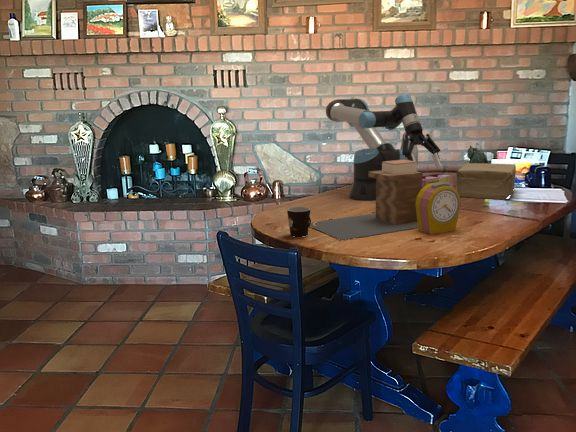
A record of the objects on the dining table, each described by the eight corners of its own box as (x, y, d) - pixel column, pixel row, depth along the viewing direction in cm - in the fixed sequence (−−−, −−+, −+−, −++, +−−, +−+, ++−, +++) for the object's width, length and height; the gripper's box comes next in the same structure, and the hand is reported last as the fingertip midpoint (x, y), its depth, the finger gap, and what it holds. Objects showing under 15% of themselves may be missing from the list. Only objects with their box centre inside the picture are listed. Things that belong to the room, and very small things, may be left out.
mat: (303, 224, 227) (303, 223, 227) (392, 211, 246) (392, 210, 246) (341, 240, 203) (341, 239, 203) (436, 225, 222) (436, 224, 222)
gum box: (442, 201, 266) (443, 172, 263) (455, 204, 259) (457, 174, 256) (405, 208, 253) (406, 178, 250) (418, 211, 247) (419, 180, 243)
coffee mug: (286, 232, 215) (286, 207, 213) (309, 232, 216) (308, 206, 213) (289, 241, 204) (288, 214, 201) (313, 240, 204) (312, 213, 202)
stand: (367, 220, 232) (368, 171, 228) (399, 215, 240) (400, 168, 235) (388, 227, 220) (389, 176, 216) (420, 222, 227) (422, 172, 223)
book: (381, 171, 227) (382, 161, 226) (403, 169, 232) (404, 159, 231) (394, 174, 220) (394, 163, 219) (416, 171, 225) (417, 161, 224)
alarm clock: (427, 235, 208) (429, 185, 204) (414, 230, 216) (416, 182, 211) (460, 230, 214) (462, 182, 210) (446, 225, 221) (448, 179, 217)
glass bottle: (398, 179, 327) (399, 130, 320) (416, 179, 325) (418, 130, 319) (399, 182, 317) (400, 131, 311) (417, 182, 316) (419, 131, 309)
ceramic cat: (465, 176, 334) (466, 141, 330) (475, 175, 335) (477, 141, 330) (479, 181, 315) (481, 145, 310) (490, 181, 316) (493, 145, 311)
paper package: (463, 187, 299) (464, 161, 295) (516, 191, 287) (518, 163, 284) (454, 197, 275) (455, 168, 272) (511, 201, 264) (513, 171, 261)
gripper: (395, 122, 251) (409, 165, 245) (438, 121, 262) (453, 162, 256) (385, 130, 257) (400, 173, 251) (428, 129, 269) (443, 169, 263)
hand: (427, 167), depth 254 cm, fingers open, 13 cm apart
